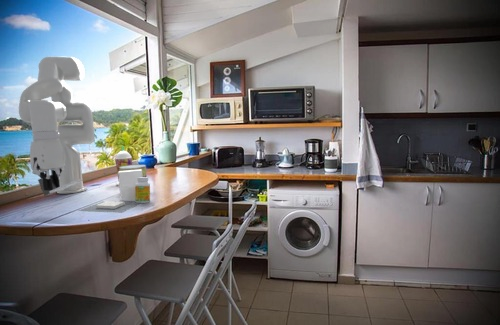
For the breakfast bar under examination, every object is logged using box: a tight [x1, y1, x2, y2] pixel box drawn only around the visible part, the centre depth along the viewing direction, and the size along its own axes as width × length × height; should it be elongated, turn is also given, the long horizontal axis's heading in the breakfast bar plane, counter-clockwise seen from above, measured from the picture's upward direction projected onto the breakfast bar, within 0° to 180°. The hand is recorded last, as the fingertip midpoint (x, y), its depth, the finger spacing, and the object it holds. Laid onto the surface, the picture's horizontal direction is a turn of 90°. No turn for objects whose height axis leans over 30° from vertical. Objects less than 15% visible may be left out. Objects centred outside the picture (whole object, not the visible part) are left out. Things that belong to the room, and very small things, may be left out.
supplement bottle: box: [134, 176, 151, 204], centre depth 124 cm, size 5×5×10 cm
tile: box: [96, 200, 126, 209], centre depth 118 cm, size 1×6×8 cm
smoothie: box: [114, 145, 133, 182], centre depth 166 cm, size 8×8×20 cm
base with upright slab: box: [117, 169, 142, 202], centre depth 130 cm, size 9×9×12 cm
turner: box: [37, 174, 84, 197], centre depth 110 cm, size 14×5×6 cm, turn 75°
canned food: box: [119, 164, 148, 177], centre depth 143 cm, size 11×11×12 cm
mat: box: [77, 201, 143, 214], centre depth 118 cm, size 18×13×1 cm
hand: (52, 188), depth 111 cm, fingers closed on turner
